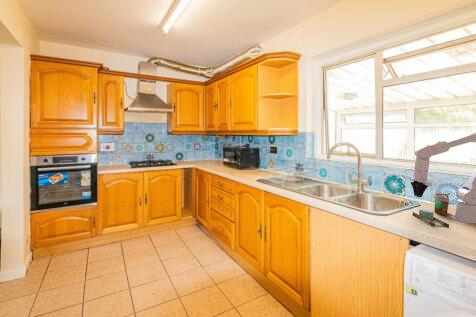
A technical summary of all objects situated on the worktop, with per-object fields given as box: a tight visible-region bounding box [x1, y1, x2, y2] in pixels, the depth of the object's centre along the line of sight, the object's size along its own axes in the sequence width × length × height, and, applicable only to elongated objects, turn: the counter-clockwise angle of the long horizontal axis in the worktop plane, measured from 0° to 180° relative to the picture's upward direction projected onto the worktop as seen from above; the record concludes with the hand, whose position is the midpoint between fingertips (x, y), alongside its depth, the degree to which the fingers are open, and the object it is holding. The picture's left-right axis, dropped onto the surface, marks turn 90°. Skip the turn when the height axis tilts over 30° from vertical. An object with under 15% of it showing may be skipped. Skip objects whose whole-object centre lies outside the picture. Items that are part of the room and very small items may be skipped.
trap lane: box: [411, 211, 450, 229], centre depth 118 cm, size 6×16×2 cm, turn 175°
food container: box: [433, 192, 450, 217], centre depth 130 cm, size 12×6×10 cm, turn 141°
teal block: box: [418, 208, 435, 220], centre depth 120 cm, size 4×4×4 cm
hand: (417, 196), depth 127 cm, fingers closed
